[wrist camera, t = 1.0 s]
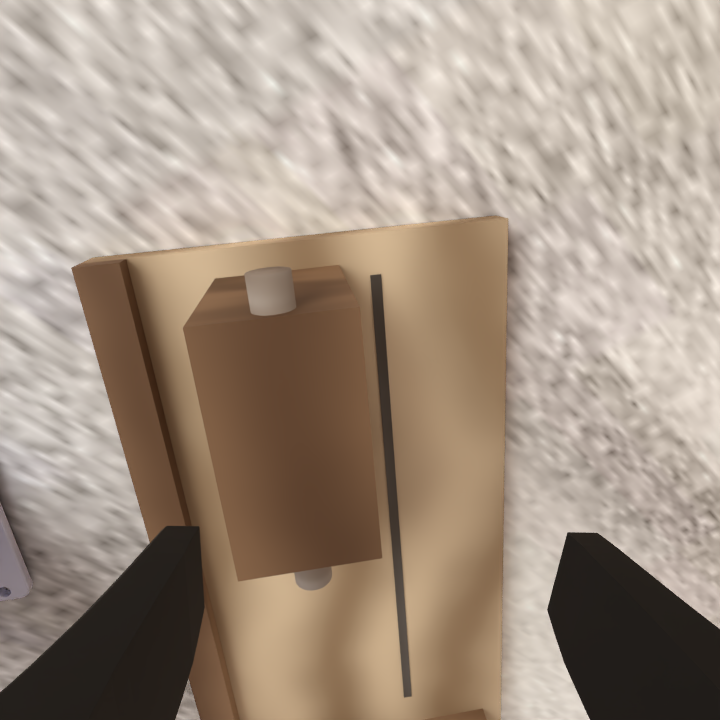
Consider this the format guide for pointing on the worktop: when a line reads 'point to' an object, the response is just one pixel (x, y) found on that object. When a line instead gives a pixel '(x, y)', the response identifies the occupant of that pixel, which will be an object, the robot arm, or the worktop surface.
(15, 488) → the worktop surface
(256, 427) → the block with white pegs
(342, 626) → the board
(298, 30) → the worktop surface
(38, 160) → the worktop surface
